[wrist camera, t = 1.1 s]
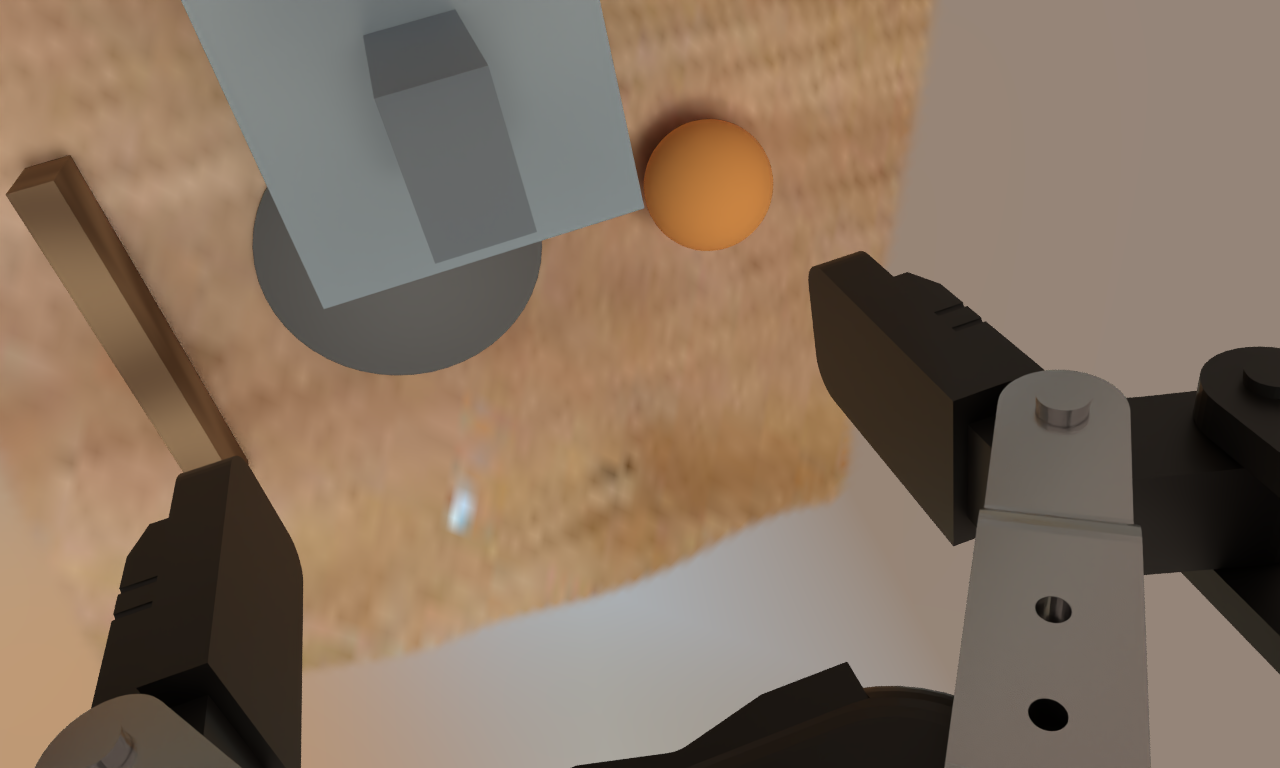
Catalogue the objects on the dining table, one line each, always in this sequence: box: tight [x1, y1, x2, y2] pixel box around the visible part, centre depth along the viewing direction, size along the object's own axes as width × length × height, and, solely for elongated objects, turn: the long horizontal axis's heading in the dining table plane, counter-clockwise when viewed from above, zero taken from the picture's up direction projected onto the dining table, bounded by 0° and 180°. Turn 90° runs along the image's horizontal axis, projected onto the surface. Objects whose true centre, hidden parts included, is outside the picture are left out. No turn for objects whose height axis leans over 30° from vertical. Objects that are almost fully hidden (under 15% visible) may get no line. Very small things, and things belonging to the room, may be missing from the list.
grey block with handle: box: [181, 0, 644, 309], centre depth 27 cm, size 10×10×15 cm
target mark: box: [253, 187, 542, 375], centre depth 37 cm, size 11×11×1 cm
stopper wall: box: [6, 156, 248, 473], centre depth 35 cm, size 14×2×2 cm, turn 12°
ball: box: [644, 119, 773, 251], centre depth 37 cm, size 5×5×5 cm
